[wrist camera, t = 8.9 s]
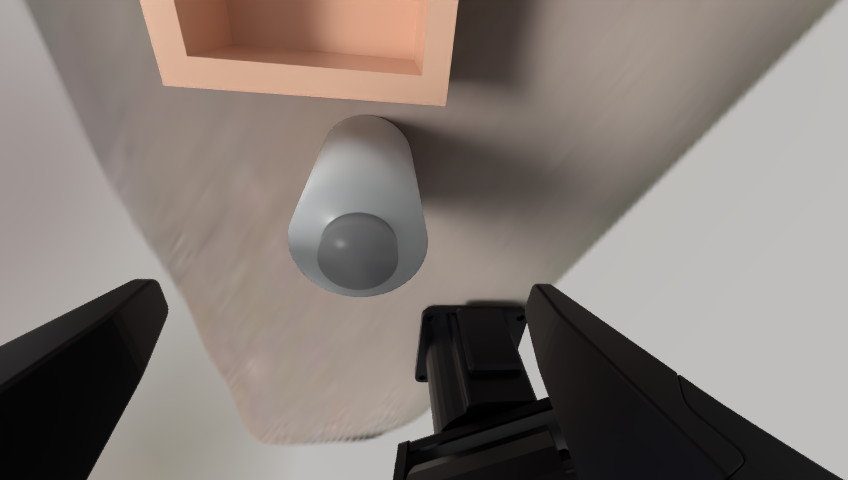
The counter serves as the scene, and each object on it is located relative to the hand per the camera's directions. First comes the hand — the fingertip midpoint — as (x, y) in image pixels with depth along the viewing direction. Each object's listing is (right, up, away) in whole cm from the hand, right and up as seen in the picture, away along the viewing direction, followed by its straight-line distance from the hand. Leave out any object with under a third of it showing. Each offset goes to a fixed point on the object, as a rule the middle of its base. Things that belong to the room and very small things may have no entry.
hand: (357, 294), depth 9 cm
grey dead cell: (-1, +5, +7) cm, 9 cm away
